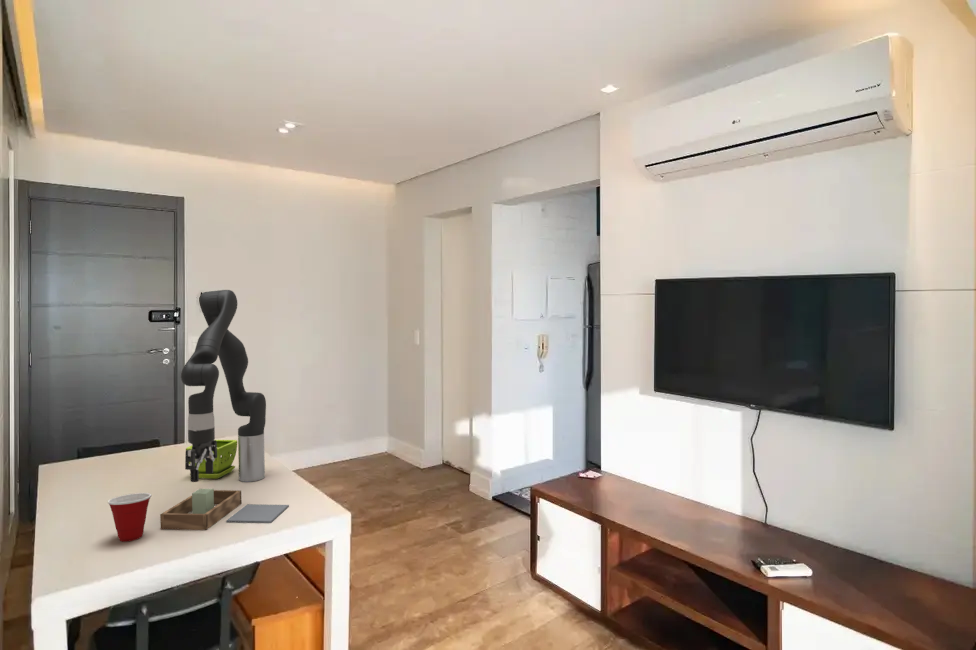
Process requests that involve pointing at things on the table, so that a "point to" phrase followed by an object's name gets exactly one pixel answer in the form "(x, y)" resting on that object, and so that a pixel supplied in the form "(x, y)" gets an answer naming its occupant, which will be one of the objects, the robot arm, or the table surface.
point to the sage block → (202, 501)
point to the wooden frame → (184, 521)
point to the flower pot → (220, 460)
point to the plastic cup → (129, 515)
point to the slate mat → (258, 513)
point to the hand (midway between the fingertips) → (202, 477)
